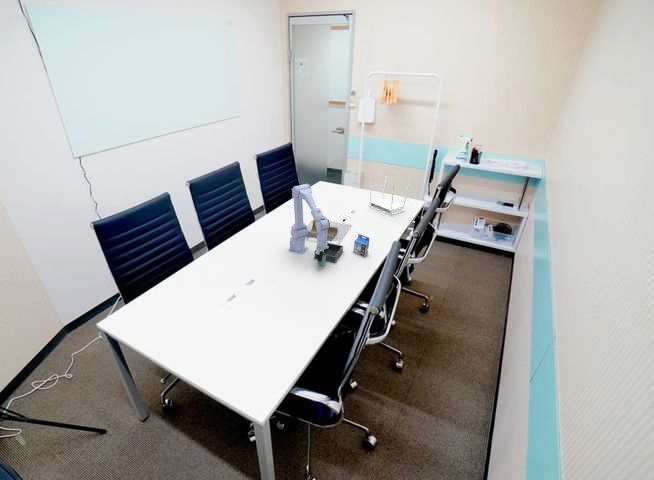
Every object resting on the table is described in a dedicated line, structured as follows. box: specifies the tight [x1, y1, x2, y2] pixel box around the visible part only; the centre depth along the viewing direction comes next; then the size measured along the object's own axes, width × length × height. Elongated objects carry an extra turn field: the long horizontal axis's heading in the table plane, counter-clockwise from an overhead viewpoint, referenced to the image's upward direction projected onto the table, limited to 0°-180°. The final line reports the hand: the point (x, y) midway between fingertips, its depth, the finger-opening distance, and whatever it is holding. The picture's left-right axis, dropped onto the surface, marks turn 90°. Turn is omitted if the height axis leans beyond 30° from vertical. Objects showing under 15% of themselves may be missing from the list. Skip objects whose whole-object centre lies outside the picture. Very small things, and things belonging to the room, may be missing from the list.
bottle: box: [316, 250, 327, 266], centre depth 198 cm, size 5×5×9 cm
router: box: [368, 174, 411, 217], centre depth 271 cm, size 19×25×24 cm
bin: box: [313, 242, 344, 264], centre depth 211 cm, size 14×16×4 cm
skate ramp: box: [305, 219, 351, 242], centre depth 239 cm, size 29×35×8 cm
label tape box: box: [352, 233, 370, 258], centre depth 211 cm, size 9×4×12 cm, turn 47°
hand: (321, 259), depth 199 cm, fingers closed on bottle, 5 cm apart
